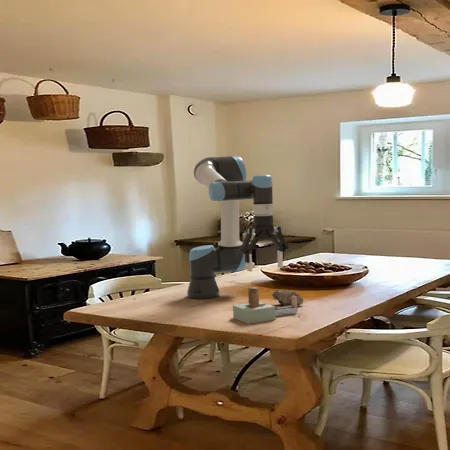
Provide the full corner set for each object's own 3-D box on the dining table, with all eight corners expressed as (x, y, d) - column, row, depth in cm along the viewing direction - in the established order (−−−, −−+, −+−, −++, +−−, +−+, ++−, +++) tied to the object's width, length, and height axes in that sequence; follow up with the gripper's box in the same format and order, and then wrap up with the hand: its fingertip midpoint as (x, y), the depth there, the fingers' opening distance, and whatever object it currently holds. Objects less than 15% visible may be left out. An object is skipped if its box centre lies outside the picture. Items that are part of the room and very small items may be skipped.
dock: (233, 317, 241) (232, 305, 241) (259, 313, 247) (259, 301, 246) (248, 323, 230) (247, 310, 230) (275, 319, 236) (275, 306, 235)
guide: (264, 315, 243) (264, 309, 243) (290, 311, 249) (289, 305, 248) (270, 317, 239) (270, 311, 239) (296, 313, 244) (296, 307, 244)
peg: (247, 318, 239) (246, 288, 238) (256, 317, 241) (255, 286, 240) (252, 320, 236) (251, 289, 235) (261, 319, 238) (260, 288, 237)
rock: (270, 290, 264) (278, 290, 255) (295, 288, 267) (303, 288, 258) (271, 306, 264) (279, 307, 254) (296, 304, 267) (305, 305, 257)
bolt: (275, 313, 244) (274, 298, 244) (294, 310, 248) (293, 295, 247) (278, 314, 242) (277, 299, 242) (297, 311, 246) (296, 296, 246)
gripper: (238, 217, 229) (240, 273, 231) (296, 213, 240) (297, 267, 241) (230, 216, 236) (232, 271, 238) (286, 212, 246) (287, 265, 248)
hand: (265, 269), depth 239 cm, fingers open, 13 cm apart
